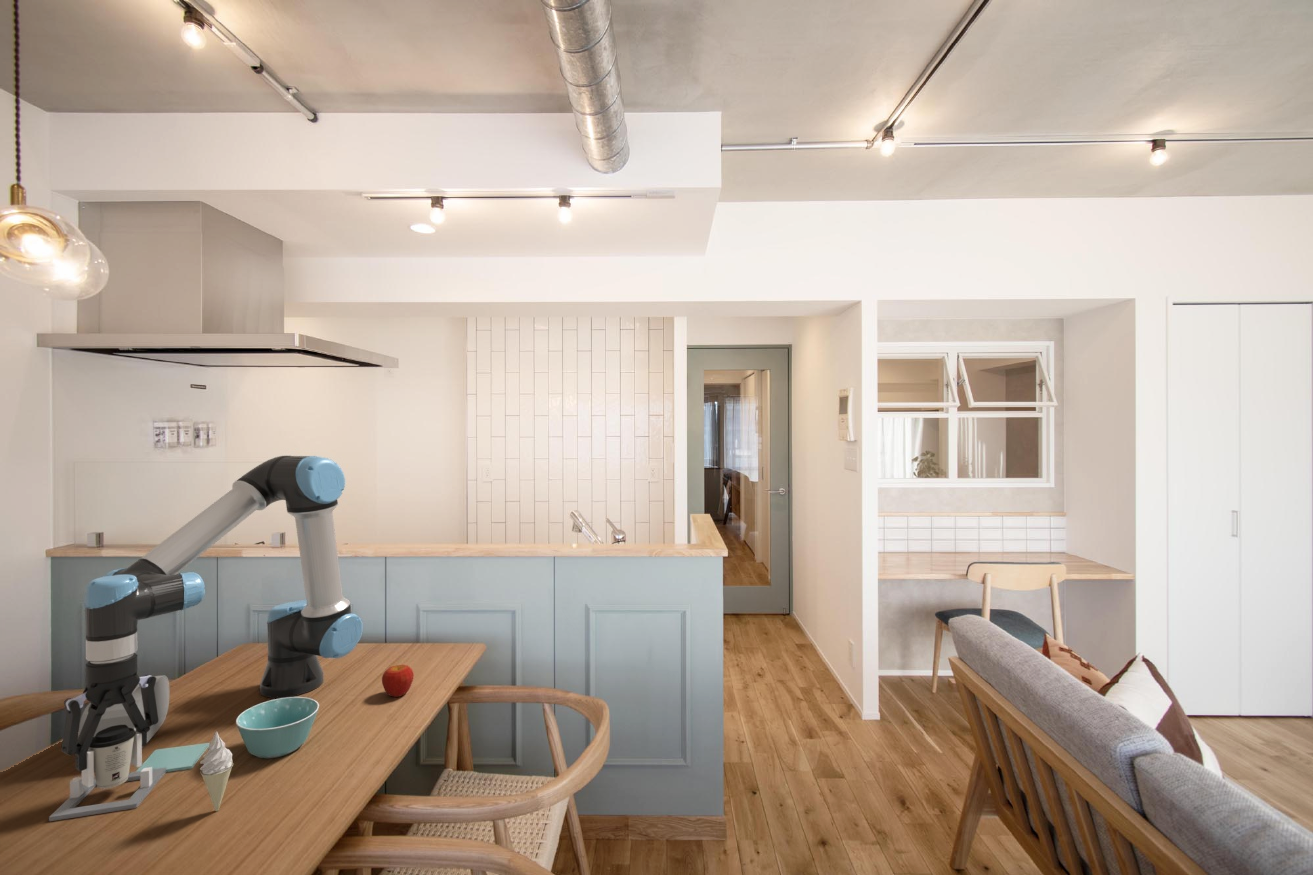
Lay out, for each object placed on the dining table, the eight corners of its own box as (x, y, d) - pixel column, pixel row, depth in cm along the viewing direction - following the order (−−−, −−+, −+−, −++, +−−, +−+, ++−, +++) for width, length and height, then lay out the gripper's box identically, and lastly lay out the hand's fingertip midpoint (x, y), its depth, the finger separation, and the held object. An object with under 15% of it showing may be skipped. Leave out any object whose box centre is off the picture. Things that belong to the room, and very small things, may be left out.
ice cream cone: (211, 802, 117) (211, 724, 116) (239, 801, 117) (239, 723, 117) (193, 819, 112) (193, 738, 111) (222, 818, 112) (222, 737, 112)
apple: (375, 697, 163) (375, 668, 163) (398, 686, 170) (398, 658, 170) (397, 702, 160) (397, 672, 160) (419, 690, 167) (419, 662, 167)
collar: (166, 771, 127) (166, 751, 127) (136, 807, 115) (136, 786, 115) (89, 782, 123) (89, 762, 123) (49, 821, 111) (49, 799, 111)
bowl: (334, 737, 142) (334, 702, 141) (272, 773, 127) (272, 734, 127) (284, 726, 147) (284, 692, 147) (218, 759, 132) (218, 721, 132)
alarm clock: (120, 725, 146) (120, 670, 146) (169, 719, 150) (169, 664, 150) (77, 770, 127) (76, 706, 127) (134, 761, 131) (133, 699, 130)
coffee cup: (126, 788, 117) (126, 736, 117) (80, 795, 114) (80, 742, 114) (142, 769, 123) (142, 720, 123) (99, 775, 121) (99, 725, 121)
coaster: (209, 745, 138) (209, 742, 138) (191, 768, 128) (191, 765, 128) (155, 752, 134) (155, 749, 134) (133, 776, 125) (133, 774, 125)
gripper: (161, 638, 129) (161, 746, 129) (34, 671, 111) (34, 796, 112) (180, 644, 126) (181, 754, 126) (53, 679, 108) (53, 807, 108)
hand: (112, 774), depth 119 cm, fingers closed on coffee cup, 7 cm apart
